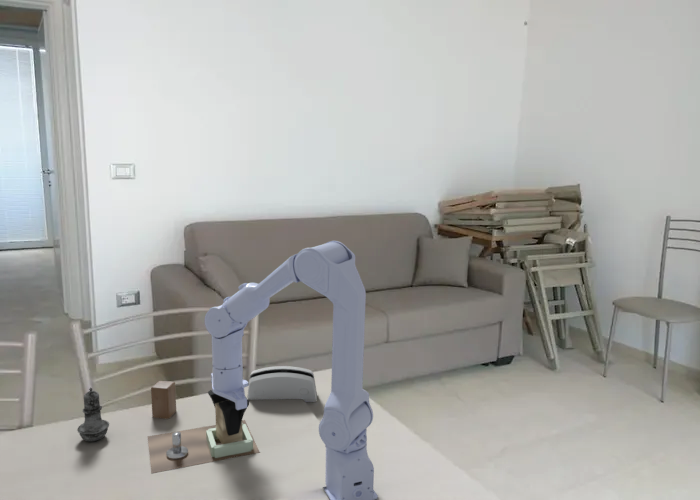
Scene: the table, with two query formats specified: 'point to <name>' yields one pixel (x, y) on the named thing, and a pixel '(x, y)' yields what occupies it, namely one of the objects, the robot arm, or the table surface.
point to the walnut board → (194, 444)
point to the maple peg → (221, 428)
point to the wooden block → (163, 399)
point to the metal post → (176, 448)
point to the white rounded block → (282, 384)
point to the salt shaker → (92, 418)
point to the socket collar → (229, 444)
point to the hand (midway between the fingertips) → (229, 428)
